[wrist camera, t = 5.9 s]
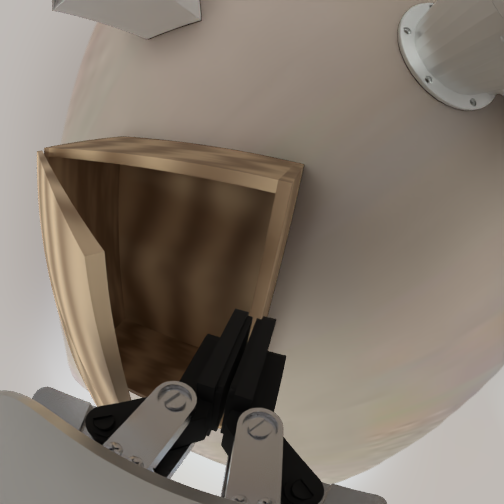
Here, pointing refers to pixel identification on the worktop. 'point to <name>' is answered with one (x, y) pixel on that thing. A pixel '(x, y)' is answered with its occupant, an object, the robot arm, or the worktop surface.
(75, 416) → the robot arm
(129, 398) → the flap
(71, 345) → the flap
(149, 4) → the milk carton
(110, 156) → the carton
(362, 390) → the worktop surface
